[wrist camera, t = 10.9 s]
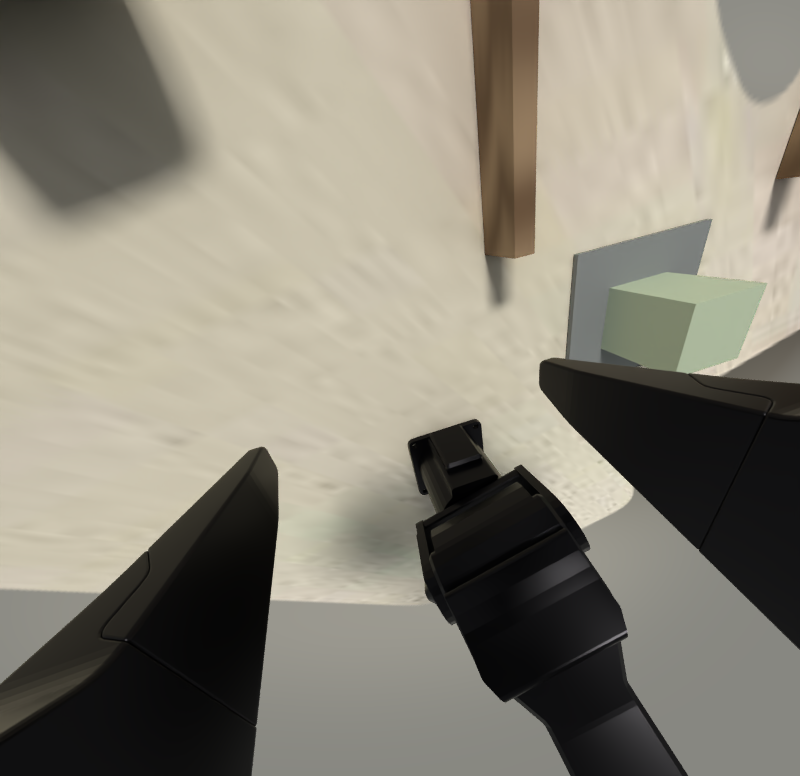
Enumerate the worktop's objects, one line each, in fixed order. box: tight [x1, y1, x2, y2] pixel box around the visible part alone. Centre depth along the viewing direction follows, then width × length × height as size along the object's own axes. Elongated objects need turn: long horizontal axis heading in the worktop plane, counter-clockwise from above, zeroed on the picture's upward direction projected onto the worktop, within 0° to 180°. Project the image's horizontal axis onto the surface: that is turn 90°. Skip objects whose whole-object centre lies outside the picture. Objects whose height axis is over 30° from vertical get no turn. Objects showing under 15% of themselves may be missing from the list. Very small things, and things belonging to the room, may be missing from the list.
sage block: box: [601, 272, 767, 374], centre depth 21 cm, size 5×5×6 cm
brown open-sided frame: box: [471, 0, 800, 258], centre depth 15 cm, size 18×24×4 cm
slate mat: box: [566, 219, 712, 367], centre depth 24 cm, size 11×11×1 cm
